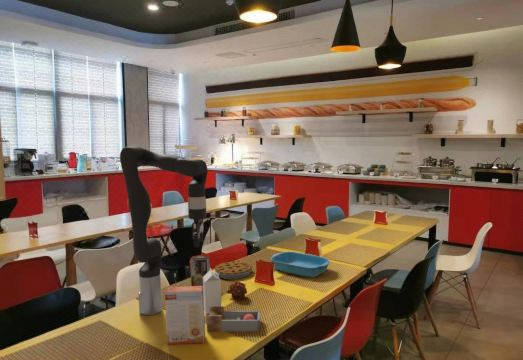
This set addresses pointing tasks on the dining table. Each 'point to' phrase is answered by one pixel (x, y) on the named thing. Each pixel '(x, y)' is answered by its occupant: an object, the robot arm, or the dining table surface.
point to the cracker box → (185, 315)
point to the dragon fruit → (237, 290)
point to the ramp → (215, 319)
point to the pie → (233, 269)
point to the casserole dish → (300, 263)
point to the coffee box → (199, 269)
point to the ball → (249, 317)
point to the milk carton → (211, 291)
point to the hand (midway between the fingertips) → (198, 244)
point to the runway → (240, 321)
